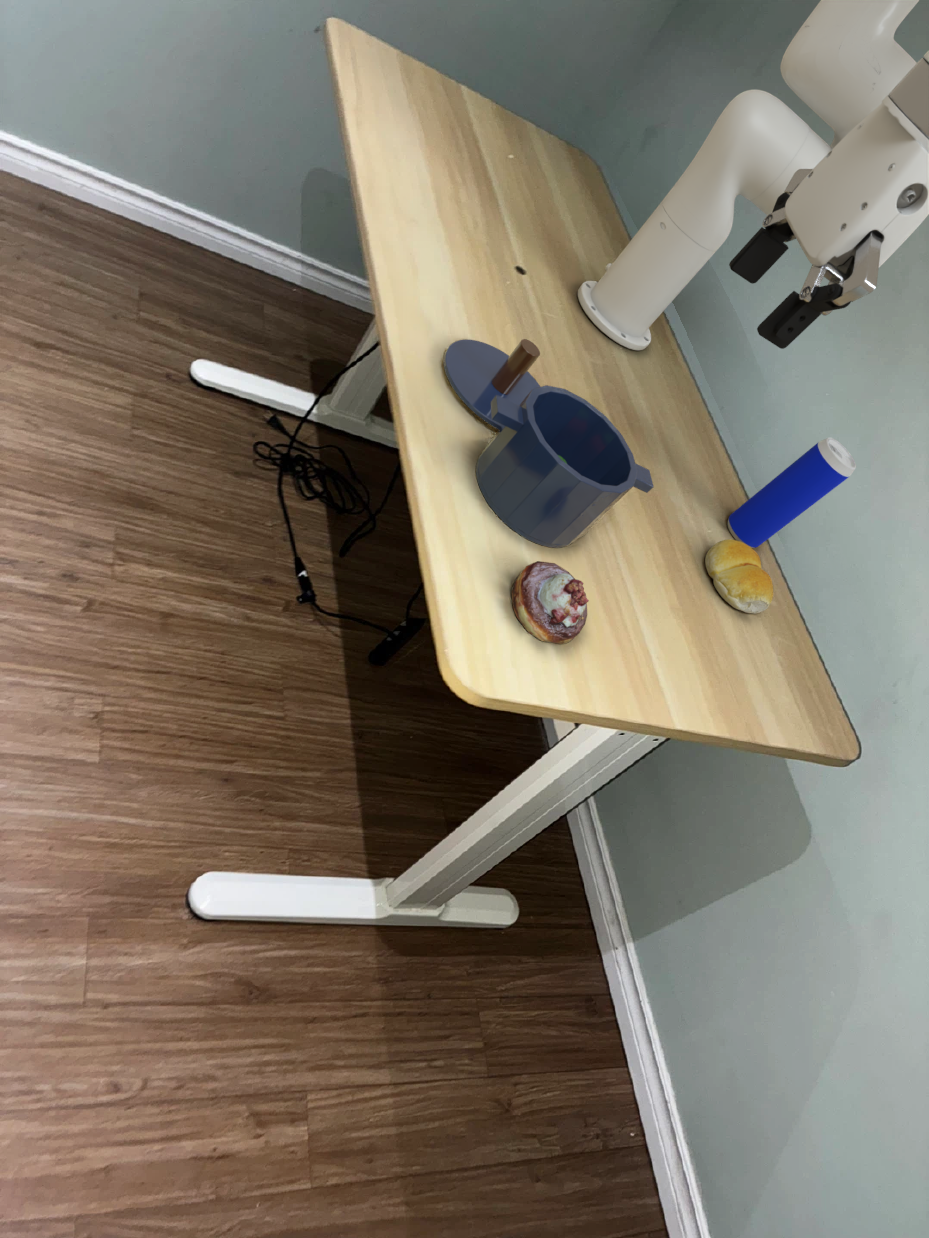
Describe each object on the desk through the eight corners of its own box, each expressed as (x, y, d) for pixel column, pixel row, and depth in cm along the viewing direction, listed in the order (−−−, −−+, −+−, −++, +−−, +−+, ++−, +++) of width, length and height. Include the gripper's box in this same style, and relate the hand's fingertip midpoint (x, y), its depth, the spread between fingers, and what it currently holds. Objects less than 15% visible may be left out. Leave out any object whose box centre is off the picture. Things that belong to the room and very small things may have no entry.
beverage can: (755, 532, 103) (855, 453, 93) (756, 557, 99) (860, 479, 89) (724, 510, 102) (823, 428, 92) (724, 534, 98) (827, 452, 88)
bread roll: (737, 556, 97) (763, 536, 94) (766, 619, 92) (794, 600, 90) (690, 543, 92) (716, 522, 90) (719, 609, 88) (747, 588, 85)
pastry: (540, 656, 68) (577, 624, 65) (491, 583, 70) (524, 549, 66) (592, 631, 74) (629, 601, 70) (546, 565, 75) (579, 533, 72)
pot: (449, 418, 80) (497, 353, 74) (592, 484, 88) (645, 430, 82) (453, 510, 72) (506, 446, 67) (609, 573, 80) (669, 521, 75)
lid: (439, 328, 88) (471, 279, 84) (540, 380, 94) (575, 337, 90) (441, 409, 80) (477, 359, 76) (552, 460, 86) (591, 417, 82)
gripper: (1018, 205, 55) (812, 387, 66) (922, 99, 65) (758, 272, 77) (952, 145, 52) (748, 347, 63) (862, 43, 62) (701, 233, 73)
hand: (754, 306), depth 70 cm, fingers open, 9 cm apart
